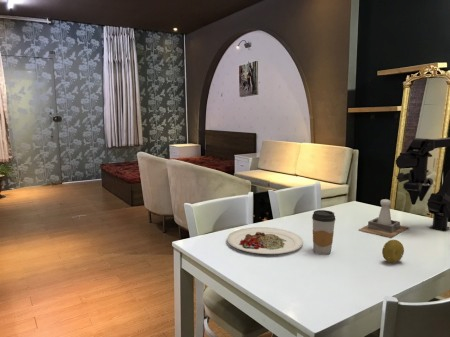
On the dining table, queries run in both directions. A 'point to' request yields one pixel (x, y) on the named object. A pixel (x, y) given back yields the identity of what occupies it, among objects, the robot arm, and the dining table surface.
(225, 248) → the dining table surface
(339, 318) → the dining table surface
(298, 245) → the plated food
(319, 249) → the coffee cup
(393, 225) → the brown tray
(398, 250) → the ochre rounded piece
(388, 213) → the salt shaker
